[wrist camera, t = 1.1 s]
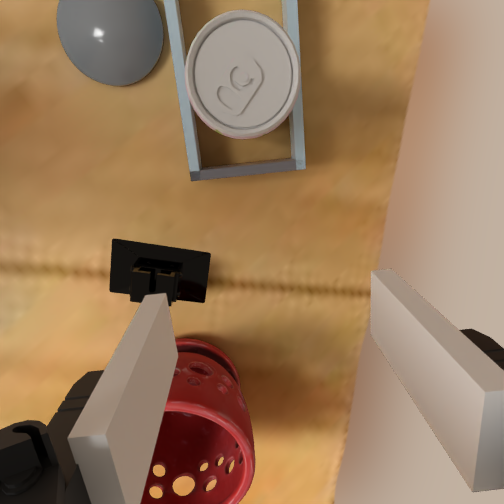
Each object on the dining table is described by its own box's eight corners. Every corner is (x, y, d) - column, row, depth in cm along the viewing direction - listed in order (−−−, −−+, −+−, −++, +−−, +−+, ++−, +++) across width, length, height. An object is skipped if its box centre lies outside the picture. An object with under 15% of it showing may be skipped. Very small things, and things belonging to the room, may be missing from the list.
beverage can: (202, 128, 32) (174, 129, 17) (211, 56, 30) (188, -10, 16) (267, 140, 32) (291, 150, 18) (279, 69, 30) (317, 18, 16)
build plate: (229, 245, 36) (228, 261, 31) (219, 311, 38) (217, 335, 34) (98, 226, 35) (79, 240, 30) (96, 296, 37) (77, 318, 32)
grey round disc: (75, 91, 30) (72, 90, 30) (48, -24, 28) (43, -28, 27) (171, 80, 30) (170, 79, 30) (153, -35, 28) (151, -39, 27)
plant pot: (229, 435, 42) (226, 547, 31) (116, 409, 41) (69, 517, 29) (266, 342, 39) (279, 431, 27) (144, 308, 37) (102, 388, 25)
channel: (194, 177, 33) (191, 181, 30) (162, -36, 28) (155, -51, 25) (300, 166, 33) (305, 169, 30) (288, -49, 28) (293, -66, 25)
